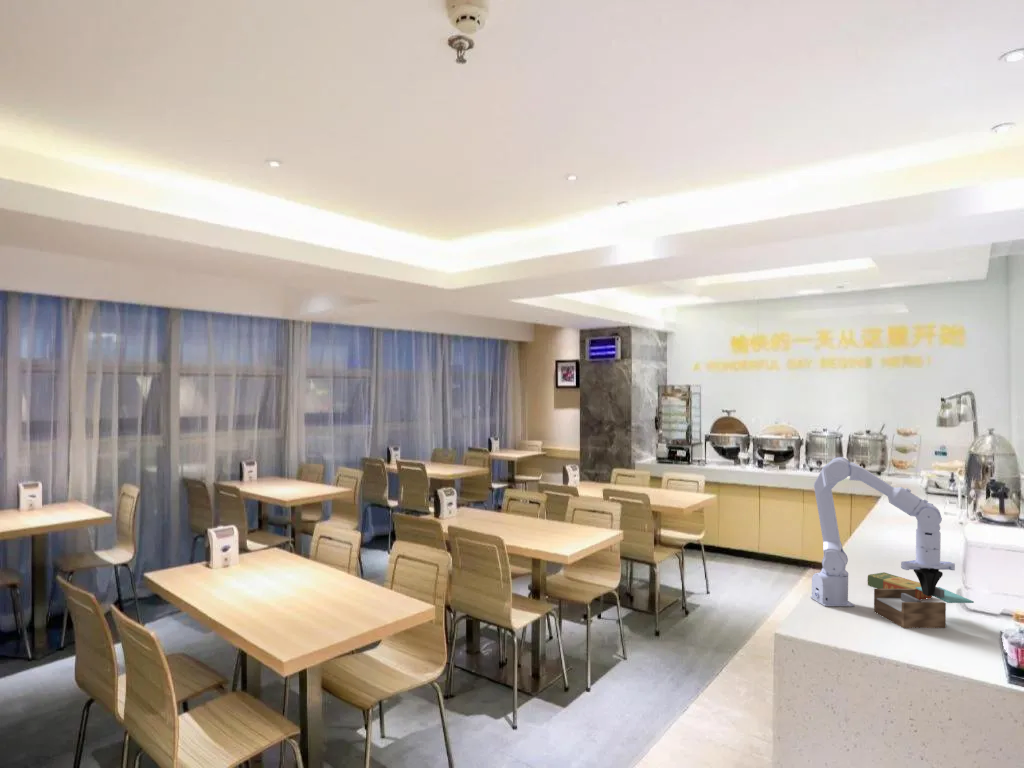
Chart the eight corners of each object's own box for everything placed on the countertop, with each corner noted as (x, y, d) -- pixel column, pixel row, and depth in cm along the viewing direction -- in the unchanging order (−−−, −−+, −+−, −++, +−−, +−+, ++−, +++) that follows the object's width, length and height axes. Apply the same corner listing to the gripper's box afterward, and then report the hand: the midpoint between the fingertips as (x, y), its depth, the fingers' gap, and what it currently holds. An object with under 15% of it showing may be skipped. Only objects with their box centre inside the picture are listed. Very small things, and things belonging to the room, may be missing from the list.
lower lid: (900, 611, 161) (900, 602, 161) (876, 599, 171) (876, 590, 171) (926, 611, 162) (926, 602, 162) (900, 599, 172) (901, 590, 172)
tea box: (903, 628, 160) (903, 603, 160) (873, 611, 172) (874, 588, 172) (945, 628, 161) (945, 603, 161) (913, 611, 173) (913, 588, 173)
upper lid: (948, 602, 161) (948, 594, 161) (915, 588, 173) (915, 580, 173) (973, 602, 162) (973, 594, 162) (939, 588, 173) (939, 580, 174)
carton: (914, 602, 182) (914, 588, 182) (866, 586, 197) (866, 573, 197) (932, 599, 185) (932, 585, 185) (884, 583, 200) (884, 571, 200)
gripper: (914, 550, 163) (913, 599, 163) (963, 550, 164) (963, 599, 163) (896, 544, 170) (895, 591, 170) (943, 544, 171) (943, 591, 170)
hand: (927, 595), depth 167 cm, fingers closed
